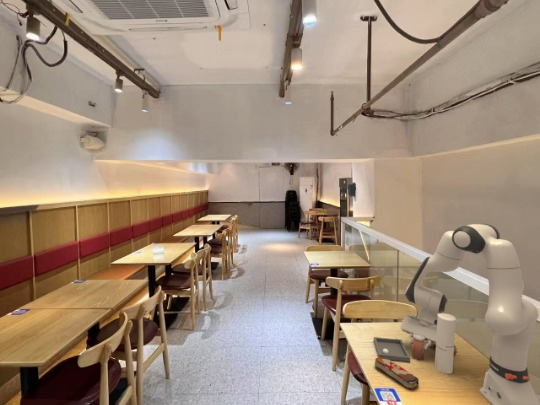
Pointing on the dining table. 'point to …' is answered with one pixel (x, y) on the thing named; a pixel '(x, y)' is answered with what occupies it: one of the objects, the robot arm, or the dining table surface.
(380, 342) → the tray
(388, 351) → the mixing ball
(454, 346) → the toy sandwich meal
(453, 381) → the dining table surface
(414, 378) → the pencil case
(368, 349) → the dining table surface
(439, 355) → the cylindrical container
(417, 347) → the shaker
